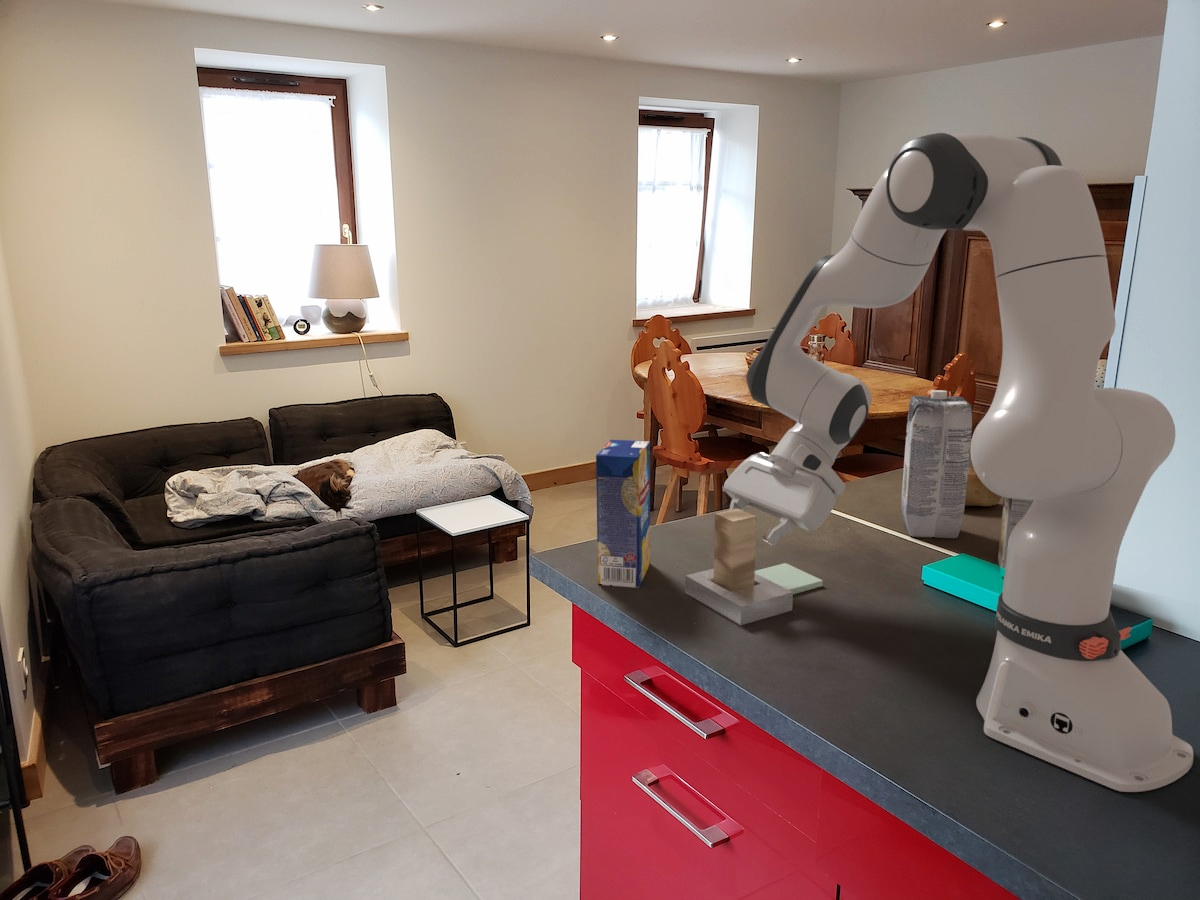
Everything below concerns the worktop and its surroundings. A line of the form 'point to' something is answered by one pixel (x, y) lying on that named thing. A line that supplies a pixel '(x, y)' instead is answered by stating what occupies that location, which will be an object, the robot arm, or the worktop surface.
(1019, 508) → the coffee box
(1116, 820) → the worktop surface
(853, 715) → the worktop surface
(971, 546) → the worktop surface
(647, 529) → the beverage box
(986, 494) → the bread roll
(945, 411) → the juice carton
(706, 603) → the grey square socket plate
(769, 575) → the pad
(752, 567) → the oak peg
